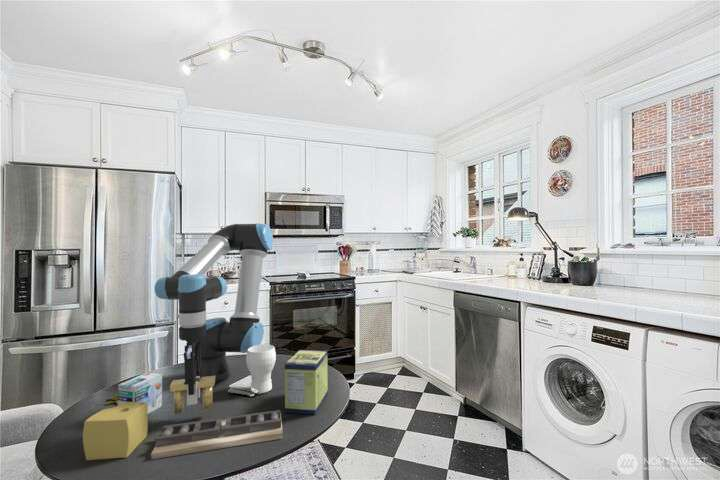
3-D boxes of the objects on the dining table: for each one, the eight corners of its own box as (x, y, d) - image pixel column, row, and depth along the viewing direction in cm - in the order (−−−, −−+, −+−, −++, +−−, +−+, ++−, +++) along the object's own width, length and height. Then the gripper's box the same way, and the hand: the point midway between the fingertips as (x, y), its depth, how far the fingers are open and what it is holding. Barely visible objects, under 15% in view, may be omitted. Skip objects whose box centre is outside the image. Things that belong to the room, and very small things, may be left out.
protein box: (328, 393, 120) (327, 350, 120) (316, 415, 105) (315, 365, 105) (300, 391, 122) (299, 348, 122) (284, 413, 106) (283, 363, 107)
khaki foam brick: (173, 409, 103) (173, 380, 103) (215, 403, 106) (215, 375, 106) (170, 415, 100) (170, 385, 100) (213, 409, 103) (213, 380, 103)
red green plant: (96, 409, 110) (96, 395, 110) (113, 394, 122) (113, 381, 122) (137, 405, 113) (137, 391, 113) (150, 390, 125) (150, 378, 125)
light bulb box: (134, 422, 101) (134, 386, 102) (116, 419, 103) (116, 384, 103) (163, 405, 112) (163, 373, 112) (146, 403, 113) (146, 371, 114)
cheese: (109, 438, 93) (109, 402, 93) (150, 436, 94) (150, 400, 94) (81, 462, 83) (82, 421, 83) (127, 459, 84) (127, 419, 84)
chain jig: (164, 433, 95) (165, 420, 95) (280, 417, 104) (280, 405, 104) (151, 459, 83) (151, 444, 84) (282, 438, 92) (282, 424, 92)
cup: (267, 396, 118) (267, 353, 118) (240, 394, 120) (240, 352, 120) (280, 384, 128) (280, 344, 129) (255, 382, 130) (255, 343, 131)
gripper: (185, 319, 110) (186, 390, 110) (171, 333, 94) (172, 416, 94) (210, 317, 112) (210, 387, 112) (201, 330, 96) (202, 412, 96)
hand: (193, 400), depth 103 cm, fingers closed on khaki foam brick, 3 cm apart
